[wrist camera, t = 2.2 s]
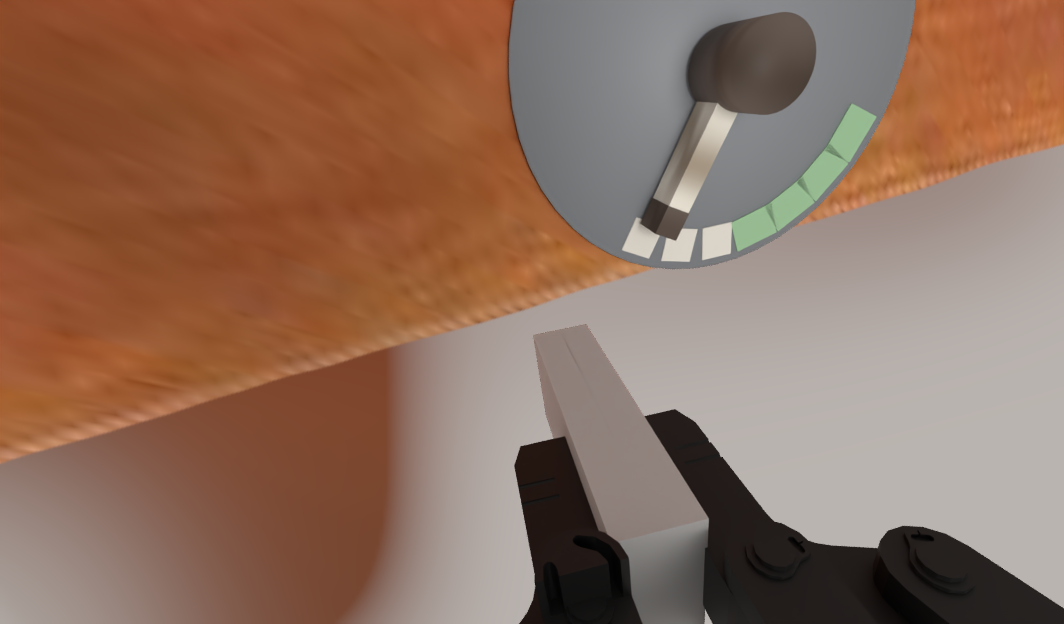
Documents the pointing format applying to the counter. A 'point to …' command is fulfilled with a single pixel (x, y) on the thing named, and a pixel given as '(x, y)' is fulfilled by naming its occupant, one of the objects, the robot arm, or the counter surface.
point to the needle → (730, 101)
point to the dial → (666, 105)
